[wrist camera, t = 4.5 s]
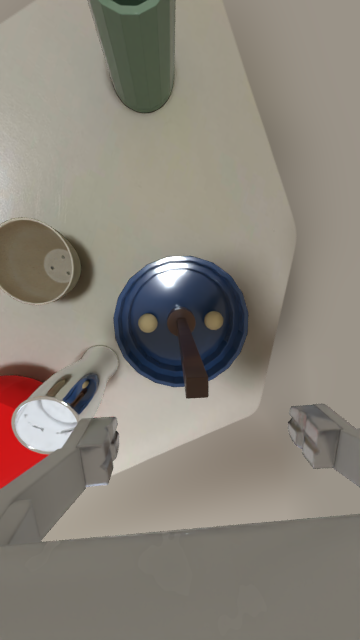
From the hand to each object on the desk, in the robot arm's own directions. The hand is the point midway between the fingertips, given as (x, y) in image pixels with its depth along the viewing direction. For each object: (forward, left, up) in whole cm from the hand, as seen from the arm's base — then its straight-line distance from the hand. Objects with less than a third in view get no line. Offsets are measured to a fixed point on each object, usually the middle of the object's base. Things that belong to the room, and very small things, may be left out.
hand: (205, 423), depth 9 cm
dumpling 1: (+5, 0, -22) cm, 22 cm away
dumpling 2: (-5, 0, -22) cm, 23 cm away
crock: (+4, -33, -24) cm, 41 cm away
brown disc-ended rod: (0, 0, -23) cm, 23 cm away
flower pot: (+18, -9, -24) cm, 31 cm away
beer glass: (+14, +7, -24) cm, 29 cm away
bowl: (0, 0, -24) cm, 24 cm away
